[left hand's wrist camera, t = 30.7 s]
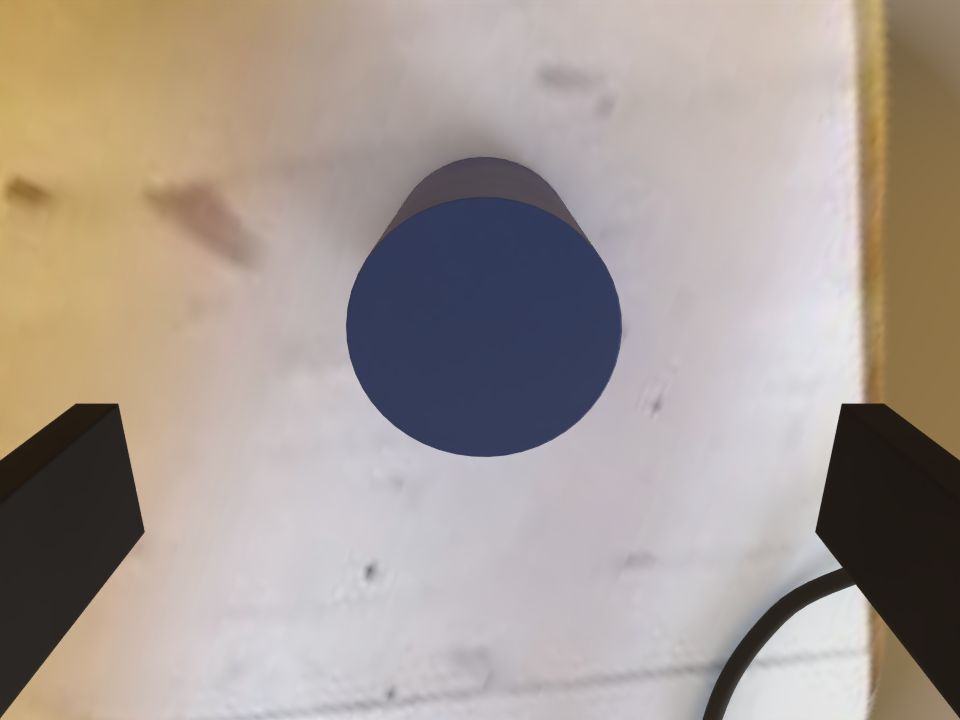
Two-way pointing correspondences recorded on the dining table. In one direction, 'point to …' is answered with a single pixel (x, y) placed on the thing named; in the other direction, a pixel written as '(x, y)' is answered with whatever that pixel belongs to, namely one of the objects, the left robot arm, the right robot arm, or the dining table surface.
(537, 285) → the can
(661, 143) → the dining table surface
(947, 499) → the left robot arm
